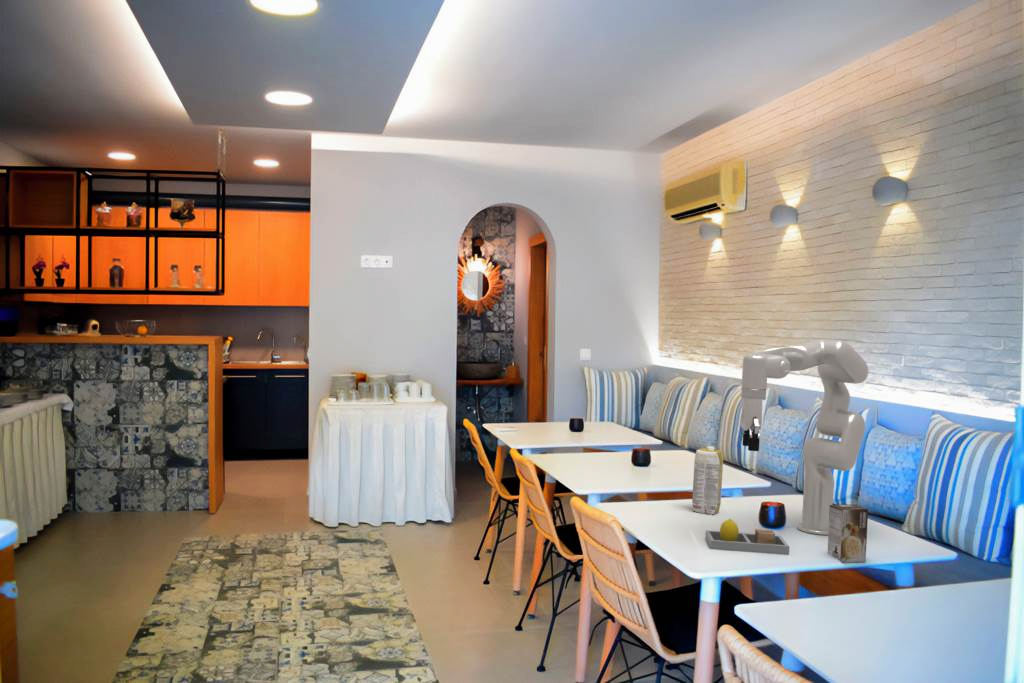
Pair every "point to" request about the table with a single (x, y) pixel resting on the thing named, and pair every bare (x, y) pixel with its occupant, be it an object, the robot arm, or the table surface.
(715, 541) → the slot tray
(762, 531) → the walnut block
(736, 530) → the lemon
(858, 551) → the coffee box
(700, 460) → the juice carton
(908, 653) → the table surface
